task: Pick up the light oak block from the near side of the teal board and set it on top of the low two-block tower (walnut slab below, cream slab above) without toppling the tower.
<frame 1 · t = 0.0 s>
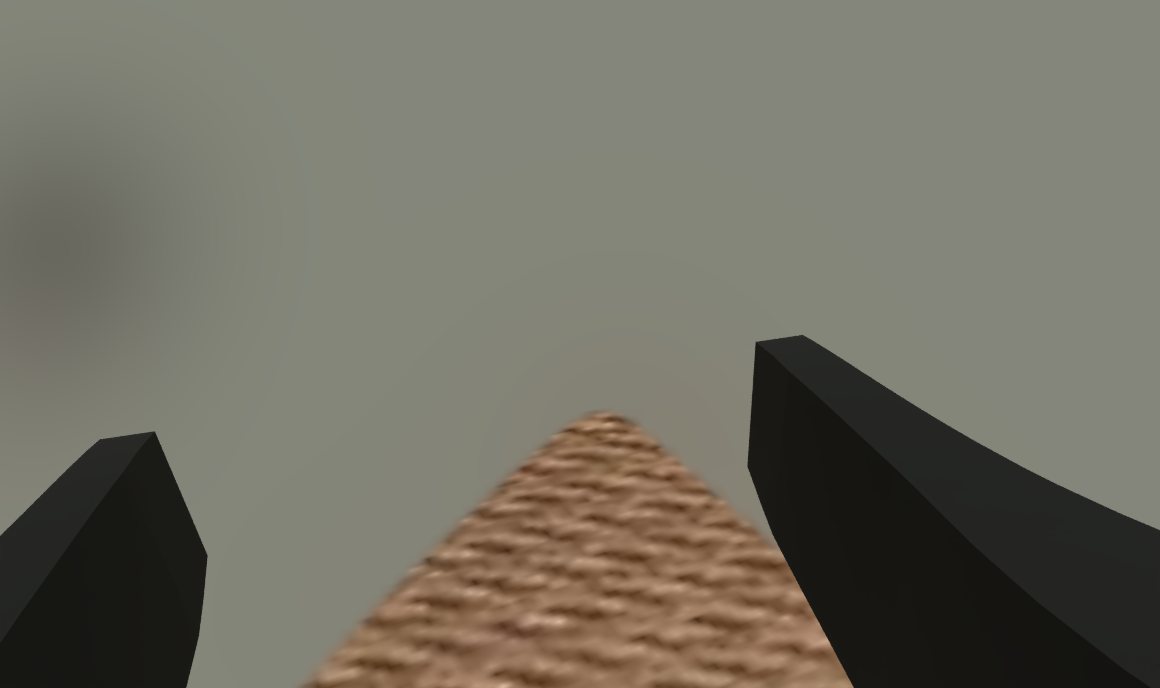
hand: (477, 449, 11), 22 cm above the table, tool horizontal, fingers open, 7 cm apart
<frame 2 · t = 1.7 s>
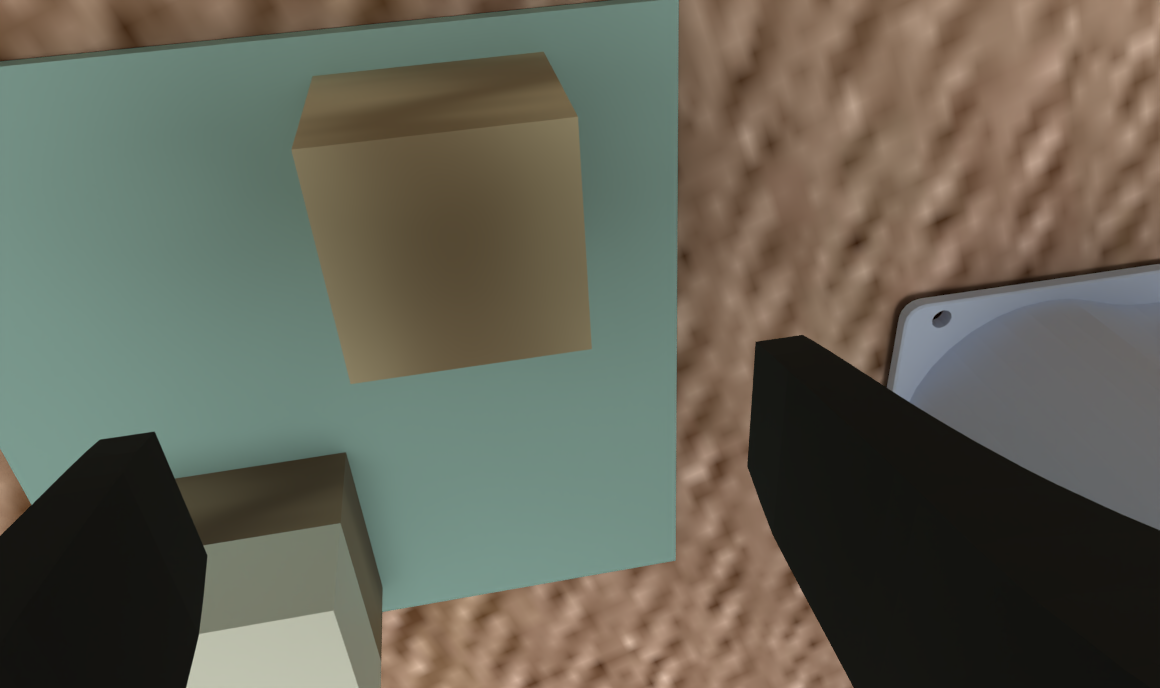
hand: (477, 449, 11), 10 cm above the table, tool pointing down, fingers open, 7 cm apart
cream block: (256, 615, 21), point 3 cm above the table, touching walnut block
walnut block: (269, 539, 23), resting on teal board, touching cream block
teal board: (350, 375, 21), on the table
oak block: (446, 171, 18), resting on teal board
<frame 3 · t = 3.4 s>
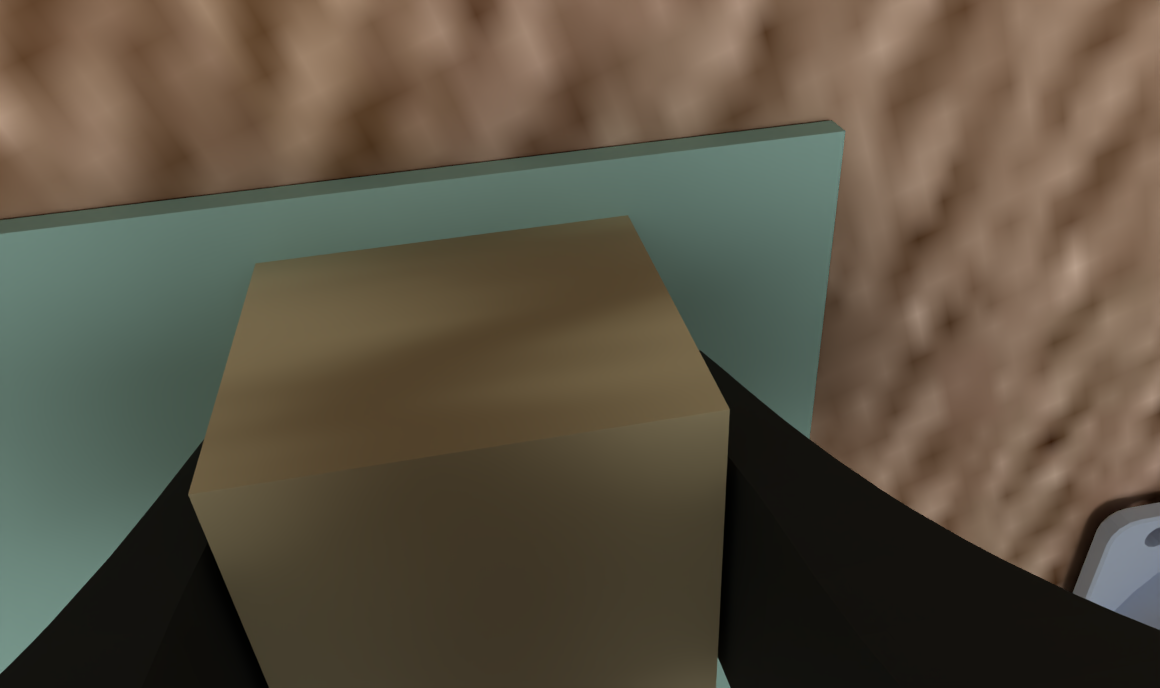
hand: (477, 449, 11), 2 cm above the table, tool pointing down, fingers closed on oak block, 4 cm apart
teal board: (327, 640, 15), on the table
oak block: (469, 387, 12), resting on teal board, touching gripper
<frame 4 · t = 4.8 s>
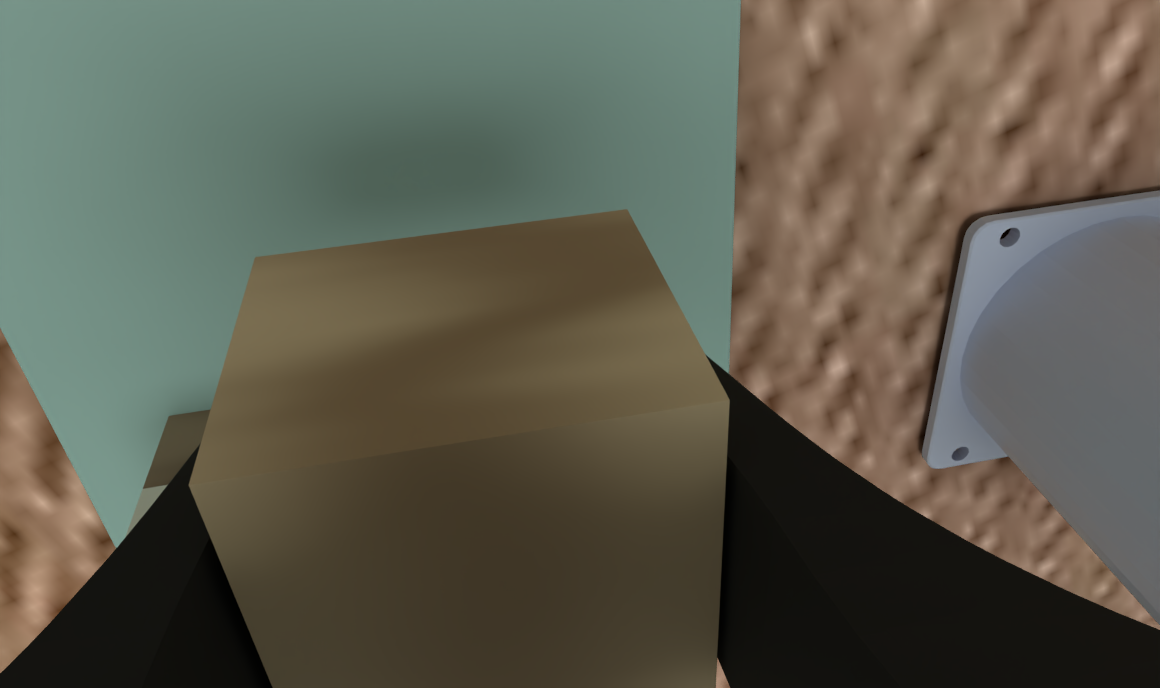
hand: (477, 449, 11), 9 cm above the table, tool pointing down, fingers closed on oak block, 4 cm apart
cream block: (295, 551, 20), point 3 cm above the table, touching walnut block
walnut block: (304, 477, 22), resting on teal board, touching cream block
teal board: (390, 298, 20), on the table
oak block: (469, 382, 12), point 8 cm above the table, touching gripper
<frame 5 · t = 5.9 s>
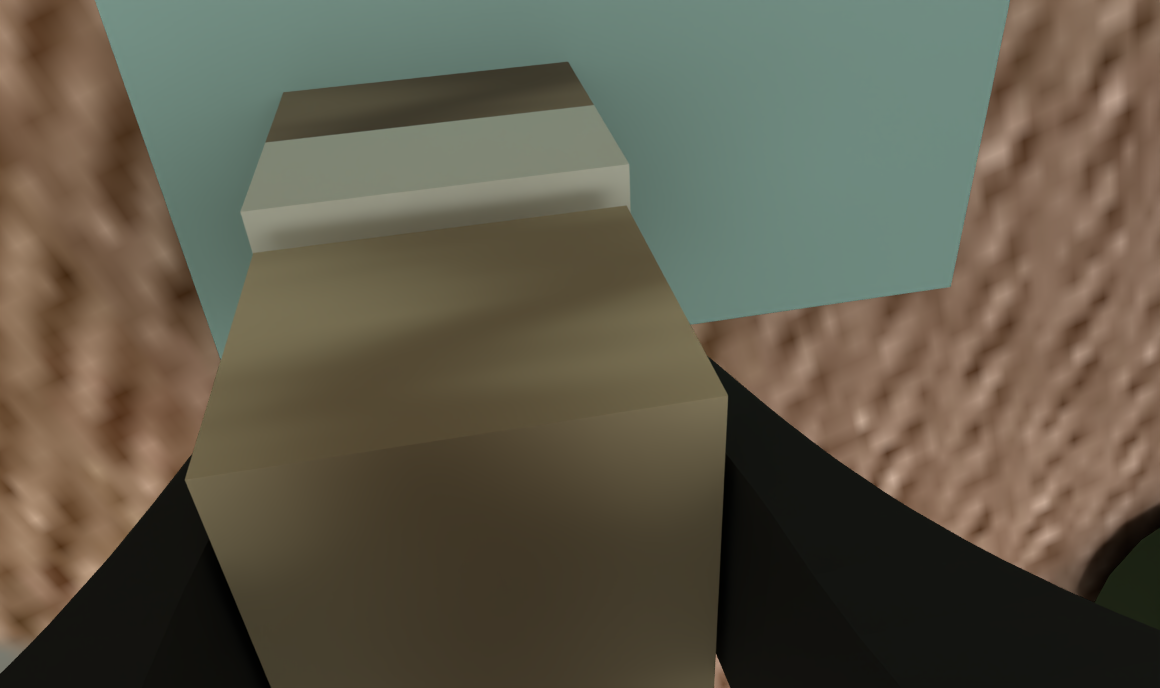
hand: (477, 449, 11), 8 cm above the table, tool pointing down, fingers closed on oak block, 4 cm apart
cream block: (455, 267, 15), point 3 cm above the table, touching walnut block
walnut block: (448, 206, 17), resting on teal board, touching cream block
oak block: (468, 379, 12), point 6 cm above the table, touching gripper
when the fingers open (8 cm above the table, at t = 6.5 s): oak block stays where it is, resting on cream block.
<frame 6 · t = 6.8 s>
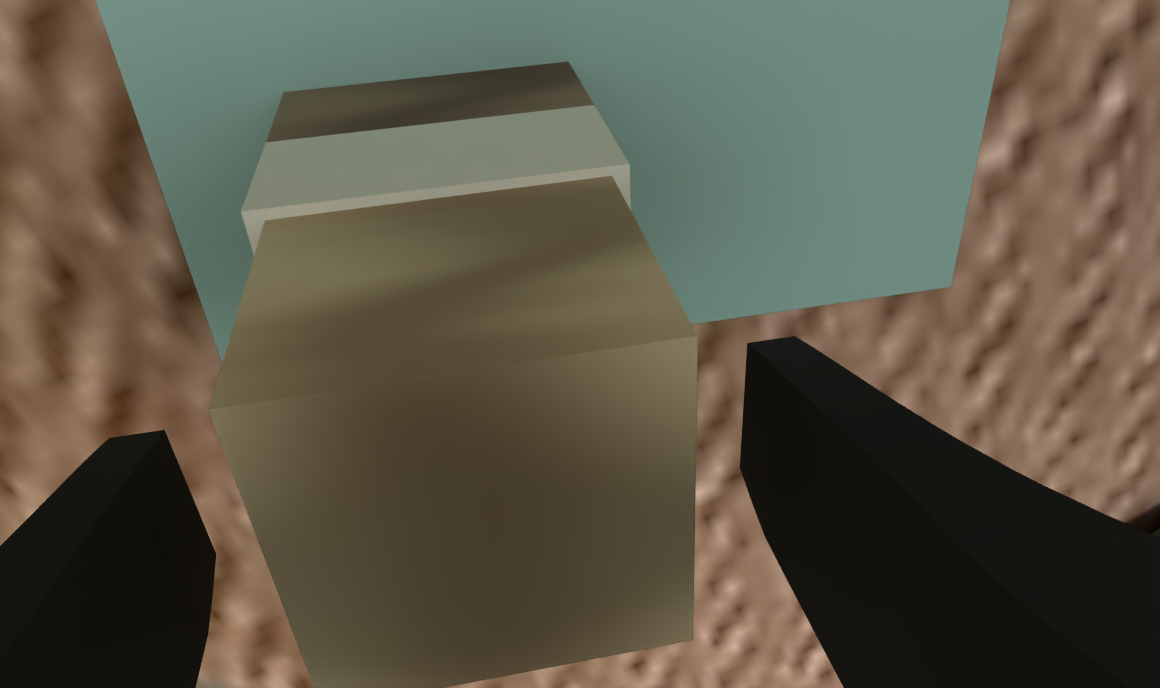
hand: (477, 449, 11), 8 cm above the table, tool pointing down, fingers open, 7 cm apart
cream block: (455, 267, 15), point 3 cm above the table, touching oak block, walnut block
walnut block: (448, 206, 17), resting on teal board, touching cream block
oak block: (465, 341, 13), point 5 cm above the table, touching cream block
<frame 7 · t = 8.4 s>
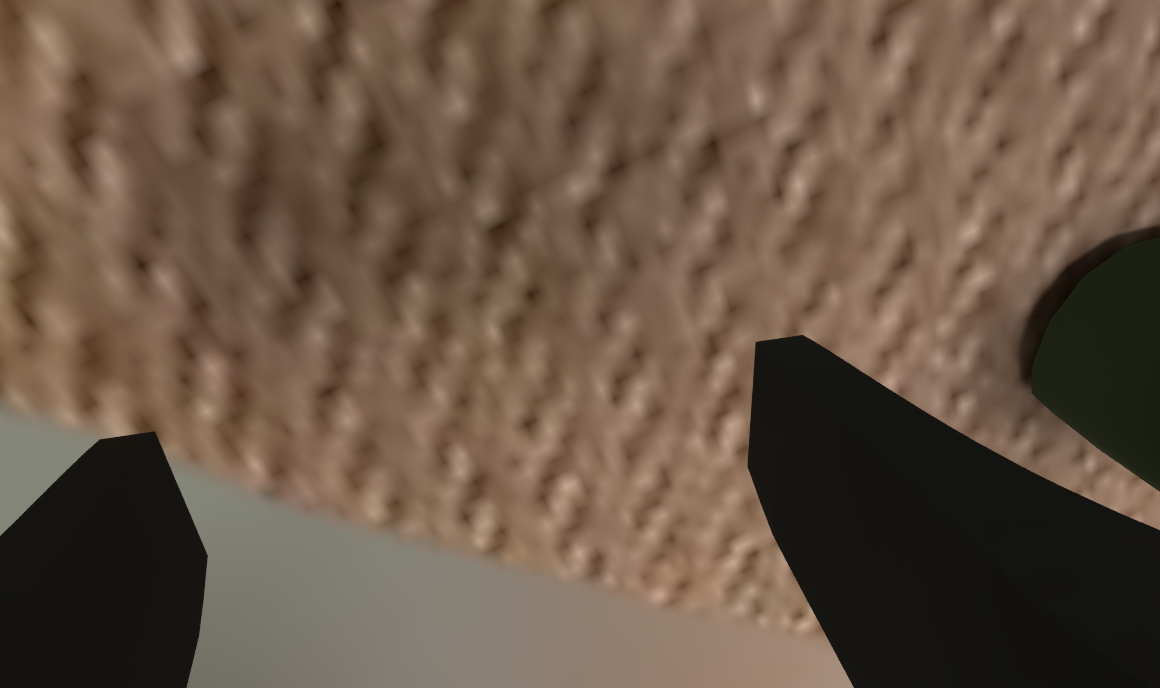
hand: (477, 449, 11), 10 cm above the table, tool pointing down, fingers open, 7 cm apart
character mug: (1110, 317, 26), on the table
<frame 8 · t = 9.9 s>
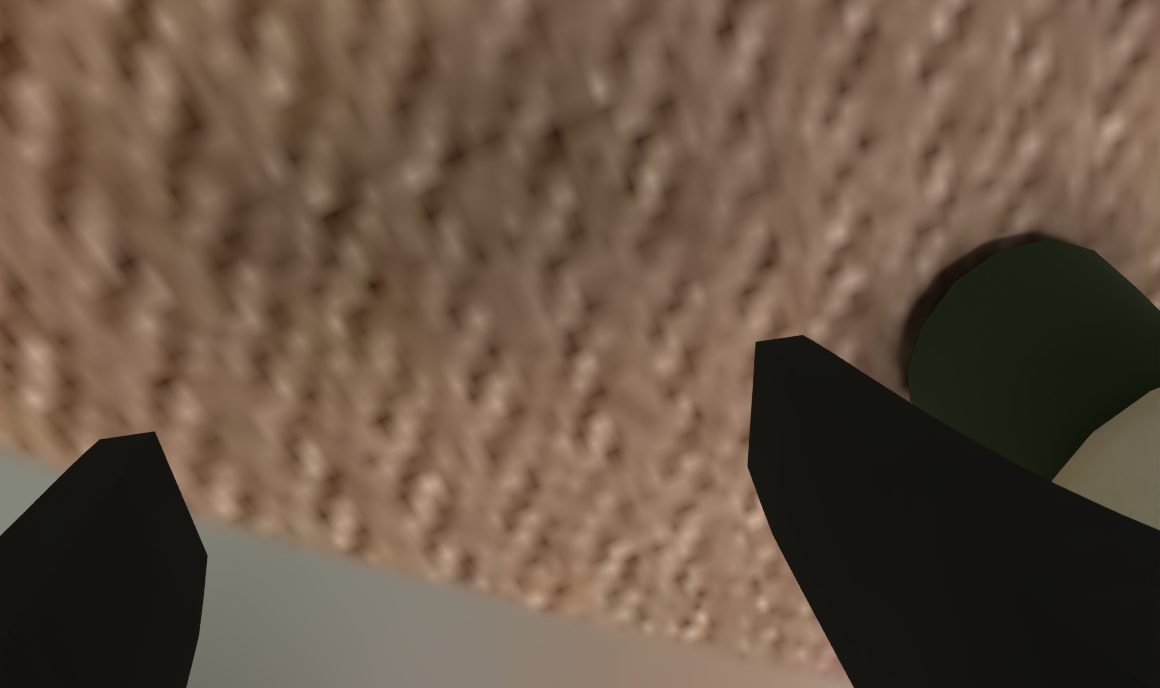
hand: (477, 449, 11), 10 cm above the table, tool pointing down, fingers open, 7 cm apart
character mug: (992, 325, 25), on the table
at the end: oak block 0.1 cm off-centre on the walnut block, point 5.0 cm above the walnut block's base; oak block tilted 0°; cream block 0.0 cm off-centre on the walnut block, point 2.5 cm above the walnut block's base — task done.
